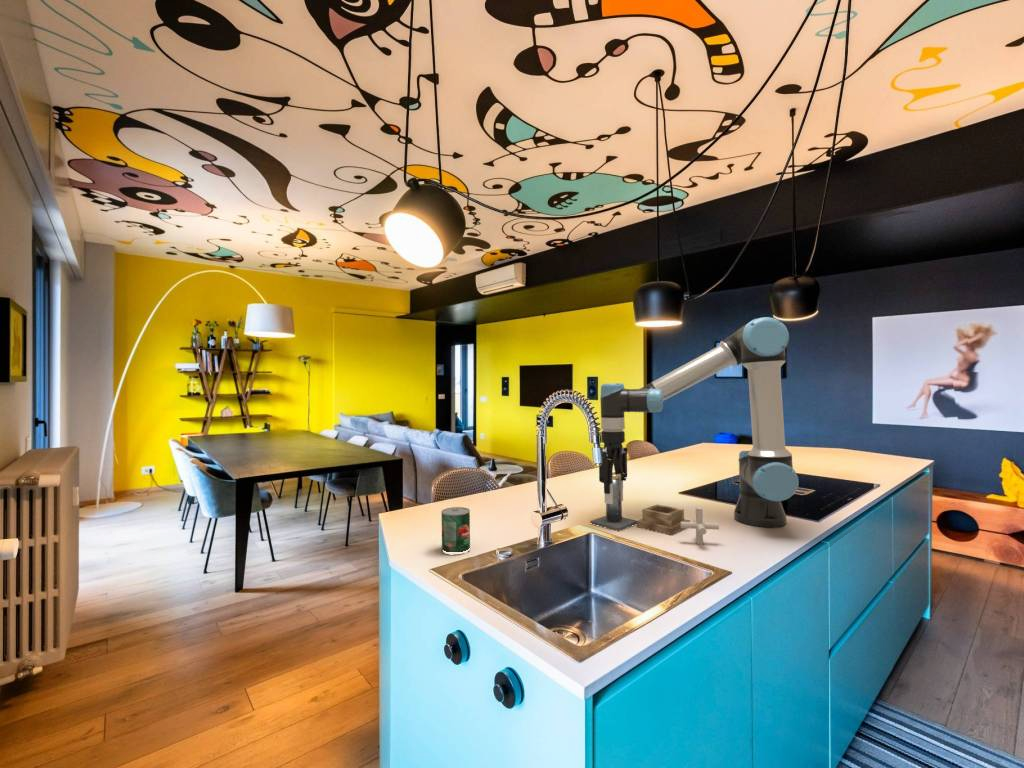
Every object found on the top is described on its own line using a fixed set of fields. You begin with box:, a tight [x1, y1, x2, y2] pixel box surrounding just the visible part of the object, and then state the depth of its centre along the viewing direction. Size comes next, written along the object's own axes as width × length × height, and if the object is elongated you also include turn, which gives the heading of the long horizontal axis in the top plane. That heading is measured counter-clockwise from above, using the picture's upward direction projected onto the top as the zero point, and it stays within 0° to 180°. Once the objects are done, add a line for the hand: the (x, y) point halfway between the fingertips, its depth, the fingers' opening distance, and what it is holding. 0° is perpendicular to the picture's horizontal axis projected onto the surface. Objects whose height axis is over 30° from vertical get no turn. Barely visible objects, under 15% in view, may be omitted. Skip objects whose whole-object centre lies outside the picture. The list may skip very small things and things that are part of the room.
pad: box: [589, 515, 637, 532], centre depth 151 cm, size 11×11×1 cm
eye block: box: [635, 504, 691, 536], centre depth 147 cm, size 12×12×6 cm
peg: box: [605, 471, 623, 520], centre depth 152 cm, size 5×5×14 cm
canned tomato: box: [440, 506, 471, 552], centre depth 129 cm, size 8×8×11 cm
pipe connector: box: [680, 507, 720, 545], centre depth 132 cm, size 10×10×10 cm
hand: (613, 501), depth 151 cm, fingers closed on peg, 5 cm apart
